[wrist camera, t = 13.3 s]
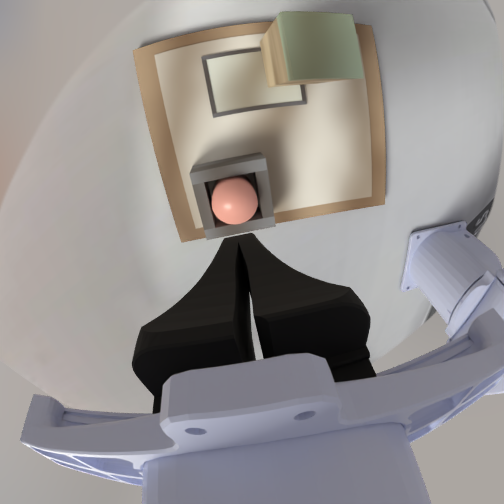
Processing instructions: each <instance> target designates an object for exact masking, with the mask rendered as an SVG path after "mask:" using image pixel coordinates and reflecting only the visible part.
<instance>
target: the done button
mask: <svg viewBox="0 0 504 504" xmlns="http://www.w3.org/2000/svg"><path fill="white" fill-rule="evenodd" d="M257 205H258V200H257V196H256V193H255V190H254V188H253V185H252V183H251V181H250V179H249V178H248V177H247V176H245V175H244V174H242V175H237V176H232V177H227V178H222V179H217V180H216V182H215V184H214V186H213V194H212V209H213V212H214V214H215V215H216V216H217V218H218V219H220V220H221V221H223V222H225V223H227V224H241V223H244V222H246V221H248V220H249V219H250V218H251V217H252V216H253V215H254V214H255V212H256V209H257Z"/></svg>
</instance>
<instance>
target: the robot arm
mask: <svg viewBox="0 0 504 504" xmlns="http://www.w3.org/2000/svg"><path fill="white" fill-rule="evenodd" d="M466 226H467V223H466V222H465V221H460V222H456V223H452V224H447V225H443V226H439V227H434V228H430V229H425V230H421V231H417V232H413V233H412V234H411V235H410V239H409V246H408V252H407V258H406V263H405V269H404V274H403V279H402V283H401V288H400V289H401V291H402V292H405V291H408V290H411V289H414V288H417V287H418V288H419V289H420V290H421V291H422V293H423V294H424V295H425V296H426V297H427V299H428V300H429V301H430V302H431V304H432V305H433V306H434V308H435V309H436V310H437V311H438V313H439V314H440V315H441V317H442V318H443V319H444V321H445V322H446V323H447V325H448V327H447V328H446V329H445V332H446V333H447V334H448V336H449V337H450V338H449V339H448V340H447V343H446V344H445V345H444V346H441V347H439V348H437V349H435V350H433V351H431V352H429V353H426V354H425V355H422V356H420V357H418V358H415V359H413V360H411V361H408V362H406V363H404V364H401V365H398V366H396V367H393V368H391V369H388V370H386V371H383V372H380V373H377V374H376V373H375V371H374V369H373V367H372V365H371V363H370V360H369V358H370V353H369V350H368V348H367V346H366V342H367V338H368V334H369V329H370V315H369V313H368V311H367V309H366V307H365V306H364V304H363V303H362V301H361V300H360V299H359V297H358V296H357V295H356V294H355V293H354V291H353V290H352V289H351V288H350V287H346V286H341V285H336V284H331V283H327V282H324V281H321V280H318V279H315V278H312V277H310V276H307V275H305V274H303V273H301V272H299V271H297V270H295V269H293V268H291V267H289V266H288V265H286V264H285V263H283V262H282V261H281V260H279V259H278V258H277V257H275V256H274V255H273V254H272V253H271V252H270V251H269V250H267V249H266V248H265V247H264V246H263V245H262V244H261V242H260V241H259V240H258V239H257V238H256V236H255V235H254V234H253V233H248V234H243V235H238V236H233V237H228V238H224V240H223V241H222V243H221V246H220V248H219V250H218V252H217V254H216V255H215V257H214V259H213V261H212V262H211V264H210V266H209V267H208V269H207V270H206V272H205V273H204V275H203V276H202V277H201V279H200V280H199V281H198V282H197V284H196V285H195V286H194V287H193V288H192V289H191V290H190V291H189V292H188V293H187V294H186V295H185V296H184V297H183V298H182V299H181V300H180V301H179V302H177V303H176V304H175V305H174V306H172V307H171V308H170V309H169V310H167V311H166V312H165V313H163V314H162V315H160V316H159V317H157V318H155V319H154V320H152V321H151V322H149V323H147V324H146V325H144V326H142V327H141V330H140V333H139V335H138V338H137V342H136V347H135V351H134V356H133V360H132V367H133V371H134V372H135V374H136V376H137V377H138V378H139V379H140V381H141V382H142V383H143V384H144V385H145V386H146V388H147V389H148V390H149V391H150V392H151V393H152V394H153V395H154V404H153V414H144V413H113V412H99V411H88V410H79V409H71V408H64V406H63V405H62V404H61V403H60V402H59V401H57V400H56V399H54V398H52V397H49V396H44V395H38V394H34V395H33V398H32V401H31V404H30V407H29V410H28V413H27V417H26V420H25V424H24V427H23V431H22V435H21V438H20V440H21V442H22V443H24V444H25V445H26V446H28V447H30V448H31V449H33V450H34V451H36V452H38V453H39V454H41V455H43V456H44V457H46V458H48V459H50V460H51V461H53V462H55V463H57V464H59V465H61V466H64V467H67V468H71V469H74V470H77V471H80V472H84V473H88V474H91V475H95V476H98V477H102V478H106V479H110V480H115V481H118V482H123V483H128V484H133V485H138V486H142V504H431V501H430V498H429V495H428V492H427V489H426V486H425V483H424V480H423V478H422V475H421V472H420V469H419V467H418V464H417V461H416V459H415V456H414V453H413V451H412V448H411V446H410V443H411V442H413V441H415V440H417V439H419V438H420V437H422V436H424V435H426V434H427V433H429V432H431V431H432V430H434V429H436V428H437V427H439V426H441V425H442V424H444V423H445V422H447V421H448V420H450V419H451V418H453V417H454V416H456V415H457V414H459V413H460V412H461V411H463V410H464V409H466V408H467V407H469V406H470V405H471V404H473V403H474V402H476V401H477V400H478V399H479V398H481V397H482V396H484V395H490V394H498V393H504V268H503V269H502V266H501V263H500V261H499V259H498V257H497V256H496V254H495V253H494V252H493V251H492V250H490V249H489V248H488V247H487V246H486V245H485V244H483V243H482V242H481V241H480V240H478V239H477V238H476V237H475V236H473V235H472V234H471V233H470V232H468V231H467V230H466ZM249 292H250V294H249ZM250 295H251V298H252V304H253V314H254V319H255V324H256V328H257V332H258V336H259V341H260V345H261V349H262V353H263V358H264V359H261V360H256V358H255V353H254V347H253V340H252V332H251V314H250Z"/></svg>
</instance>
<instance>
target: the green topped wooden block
mask: <svg viewBox="0 0 504 504" xmlns="http://www.w3.org/2000/svg"><path fill="white" fill-rule="evenodd" d="M260 47H261V52H262V57H263V62H264V68H265V73H266V79H267V85H268V88H270V87H279V86H289V85H302V84H318V83H325V82H333V81H341V80H350V79H362V78H364V75H363V68H362V62H361V56H360V50H359V44H358V39H357V34H356V29H355V25H354V20H353V16H352V15H350V14H341V13H328V12H301V11H294V12H280V13H279V15H278V16H277V17H276V19H275V20H274V22H273V23H272V25H271V26H270V27H269V29H268V30H267V32H266V33H265V35H264V36H263V38H262V39H261V41H260Z"/></svg>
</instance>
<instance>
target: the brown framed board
mask: <svg viewBox="0 0 504 504" xmlns="http://www.w3.org/2000/svg"><path fill="white" fill-rule="evenodd" d="M273 22H274V21H272V22H259V23H249V24H240V25H233V26H226V27H220V28H214V29H209V30H204V31H199V32H194V33H190V34H186V35H182V36H178V37H174V38H170V39H167V40H163V41H160V42H157V43H153V44H150V45H147V46H144V47H141V48H138V49H135V50H133V55H134V60H135V66H136V71H137V76H138V81H139V86H140V91H141V96H142V100H143V105H144V109H145V114H146V118H147V122H148V127H149V131H150V135H151V139H152V143H153V147H154V151H155V154H156V158H157V162H158V166H159V169H160V173H161V177H162V180H163V184H164V187H165V191H166V194H167V197H168V201H169V204H170V207H171V211H172V214H173V217H174V220H175V224H176V227H177V230H178V233H179V236H180V239H181V242H187V241H192V240H196V239H201V238H206V239H207V240H209V239H214V238H219V237H224V236H229V235H234V234H239V233H244V232H249V231H254V230H259V229H265V228H270V227H275V226H276V225H275V224H276V223H282V222H287V221H292V220H298V219H303V218H309V217H314V216H320V215H325V214H331V213H337V212H342V211H348V210H354V209H360V208H366V207H372V206H378V205H384V204H385V184H386V148H385V123H384V109H383V97H382V88H381V79H380V72H379V65H378V58H377V52H376V46H375V41H374V36H373V31H372V26H370V25H363V24H354V25H355V29H356V34H357V39H358V44H359V50H360V56H361V62H362V68H363V75H364V78H362V79H350V80H341V81H333V82H325V83H318V84H302V85H289V86H279V87H270V88H268V85H267V79H266V73H265V68H264V62H263V57H262V52H261V47H260V41H261V39H262V38H263V36H264V35H265V33H266V32H267V30H268V29H269V27H270V26H271V25H272V23H273ZM242 174H244V175H245V176H247V177H248V178H249V179H250V181H251V183H252V185H253V188H254V190H255V193H256V196H257V200H258V205H257V209H256V212H255V214H254V215H253V216H252V217H251V218H250V219H249V220H248V221H246V222H244V223H241V224H227V223H225V222H223V221H221V220H220V219H218V218H217V216H216V215H215V214H214V212H213V209H212V194H213V186H214V184H215V182H216V180H217V179H222V178H227V177H232V176H237V175H242Z"/></svg>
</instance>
